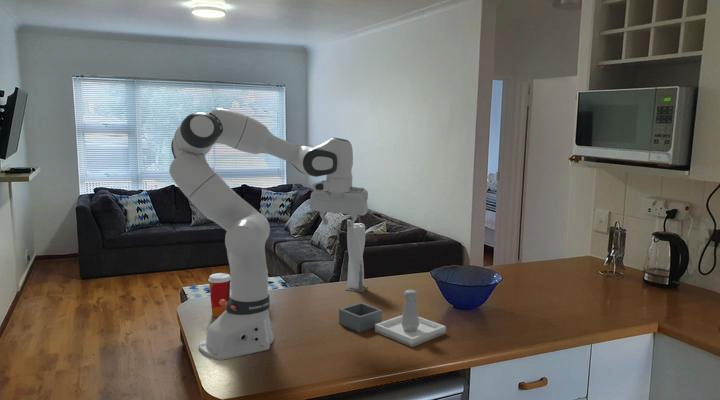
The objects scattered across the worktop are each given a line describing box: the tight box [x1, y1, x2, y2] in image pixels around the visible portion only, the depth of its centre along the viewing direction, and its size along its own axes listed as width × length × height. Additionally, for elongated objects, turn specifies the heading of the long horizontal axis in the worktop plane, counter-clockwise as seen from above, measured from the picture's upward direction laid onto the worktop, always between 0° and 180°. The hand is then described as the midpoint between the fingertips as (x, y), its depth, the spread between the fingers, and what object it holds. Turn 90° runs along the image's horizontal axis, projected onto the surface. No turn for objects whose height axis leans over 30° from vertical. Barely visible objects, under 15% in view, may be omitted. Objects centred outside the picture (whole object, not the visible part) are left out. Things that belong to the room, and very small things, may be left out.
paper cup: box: [207, 272, 231, 319], centre depth 190 cm, size 8×8×14 cm
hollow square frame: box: [338, 302, 383, 333], centre depth 184 cm, size 10×10×5 cm
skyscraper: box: [345, 219, 369, 293], centre depth 221 cm, size 8×8×28 cm
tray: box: [374, 314, 447, 348], centre depth 177 cm, size 16×16×2 cm
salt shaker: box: [401, 289, 419, 332], centre depth 176 cm, size 6×6×13 cm
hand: (337, 225), depth 189 cm, fingers open, 8 cm apart
